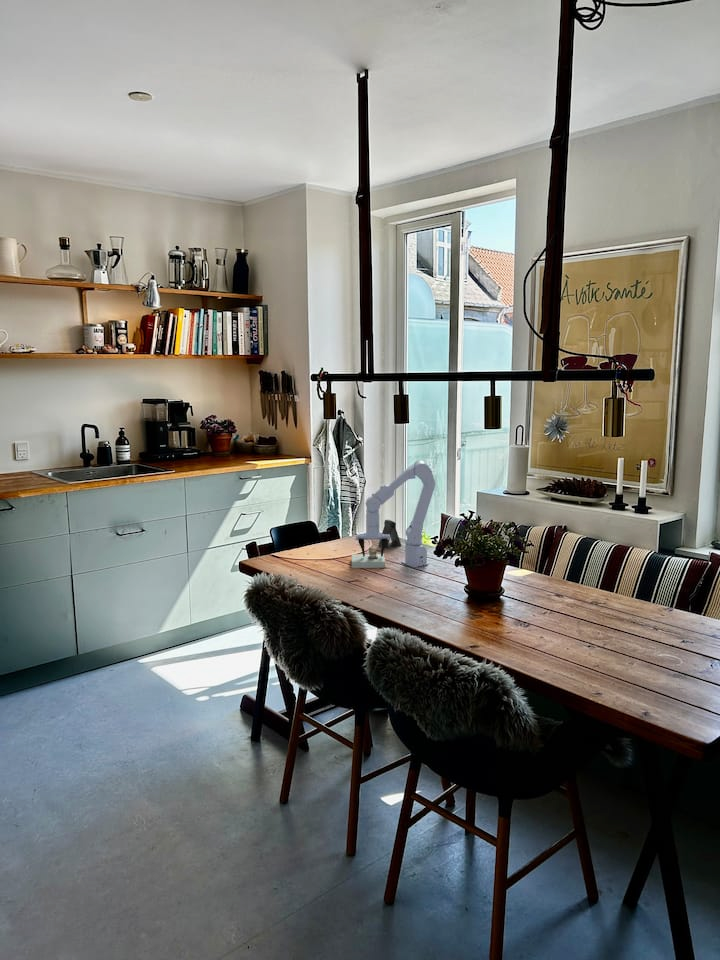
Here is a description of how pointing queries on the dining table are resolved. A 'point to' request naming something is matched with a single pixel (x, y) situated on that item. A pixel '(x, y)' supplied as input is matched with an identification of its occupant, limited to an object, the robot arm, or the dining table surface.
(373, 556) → the peg
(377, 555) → the hole board
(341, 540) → the dining table surface
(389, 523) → the phone stand
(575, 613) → the dining table surface
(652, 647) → the dining table surface
